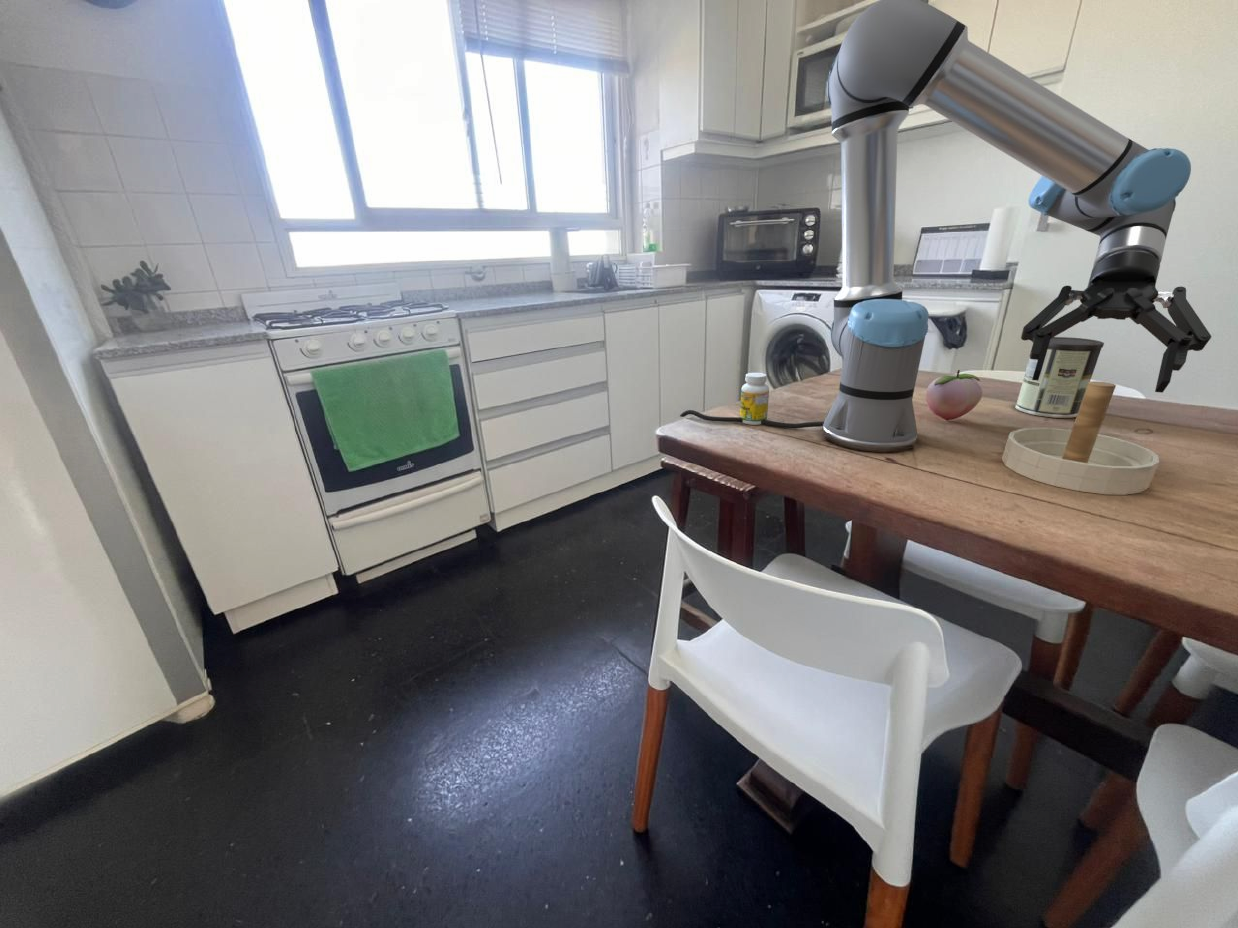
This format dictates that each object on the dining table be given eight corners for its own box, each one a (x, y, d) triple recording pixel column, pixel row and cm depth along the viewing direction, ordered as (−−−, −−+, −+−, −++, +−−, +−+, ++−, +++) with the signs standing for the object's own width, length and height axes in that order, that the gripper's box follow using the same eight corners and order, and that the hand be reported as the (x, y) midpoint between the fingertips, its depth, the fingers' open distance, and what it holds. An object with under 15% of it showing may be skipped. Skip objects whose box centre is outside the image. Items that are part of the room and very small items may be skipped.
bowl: (1015, 487, 69) (1024, 458, 67) (991, 448, 83) (998, 423, 81) (1171, 507, 63) (1186, 475, 61) (1117, 461, 76) (1128, 434, 74)
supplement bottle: (771, 423, 98) (776, 376, 95) (747, 426, 97) (750, 378, 93) (758, 416, 103) (761, 370, 99) (734, 419, 102) (737, 373, 98)
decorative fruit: (944, 411, 102) (956, 363, 98) (982, 423, 95) (996, 371, 91) (909, 417, 99) (919, 368, 95) (945, 429, 92) (958, 376, 88)
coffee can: (1051, 403, 105) (1072, 335, 99) (1093, 417, 95) (1120, 344, 90) (1002, 404, 105) (1021, 337, 100) (1039, 419, 96) (1062, 345, 90)
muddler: (1055, 474, 71) (1085, 386, 66) (1044, 461, 76) (1072, 378, 70) (1099, 479, 69) (1134, 389, 64) (1086, 466, 74) (1118, 380, 68)
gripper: (1234, 284, 72) (1211, 407, 67) (1020, 283, 87) (989, 384, 82) (1262, 245, 66) (1238, 376, 62) (1028, 251, 81) (994, 357, 76)
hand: (1095, 381), depth 72 cm, fingers open, 13 cm apart
